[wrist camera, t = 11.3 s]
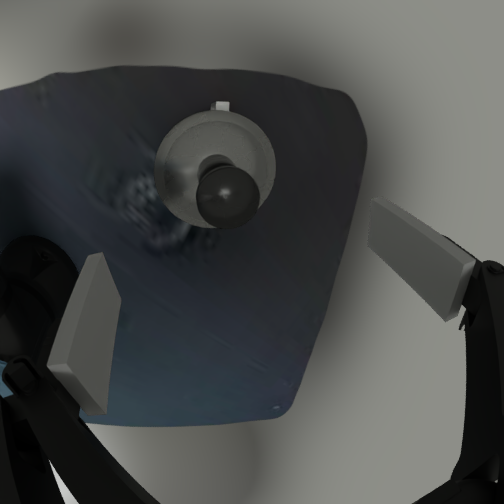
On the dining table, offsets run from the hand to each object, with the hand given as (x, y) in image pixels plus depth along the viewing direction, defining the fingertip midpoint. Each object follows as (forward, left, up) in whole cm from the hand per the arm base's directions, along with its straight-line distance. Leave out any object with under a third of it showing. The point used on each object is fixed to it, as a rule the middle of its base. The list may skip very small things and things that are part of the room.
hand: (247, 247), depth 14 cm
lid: (0, 0, -16) cm, 16 cm away
